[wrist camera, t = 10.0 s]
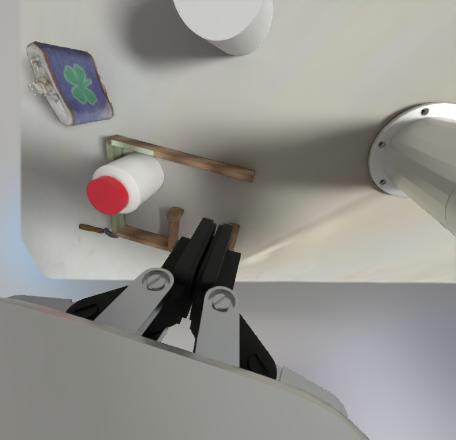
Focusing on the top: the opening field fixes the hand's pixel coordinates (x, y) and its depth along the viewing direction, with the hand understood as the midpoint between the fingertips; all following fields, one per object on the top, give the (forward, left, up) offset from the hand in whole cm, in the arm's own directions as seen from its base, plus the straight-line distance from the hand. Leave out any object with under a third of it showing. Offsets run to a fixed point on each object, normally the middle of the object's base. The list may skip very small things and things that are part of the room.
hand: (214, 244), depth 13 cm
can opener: (+28, +26, -28) cm, 47 cm away
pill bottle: (+18, +10, -27) cm, 34 cm away
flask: (+26, -2, -27) cm, 38 cm away
